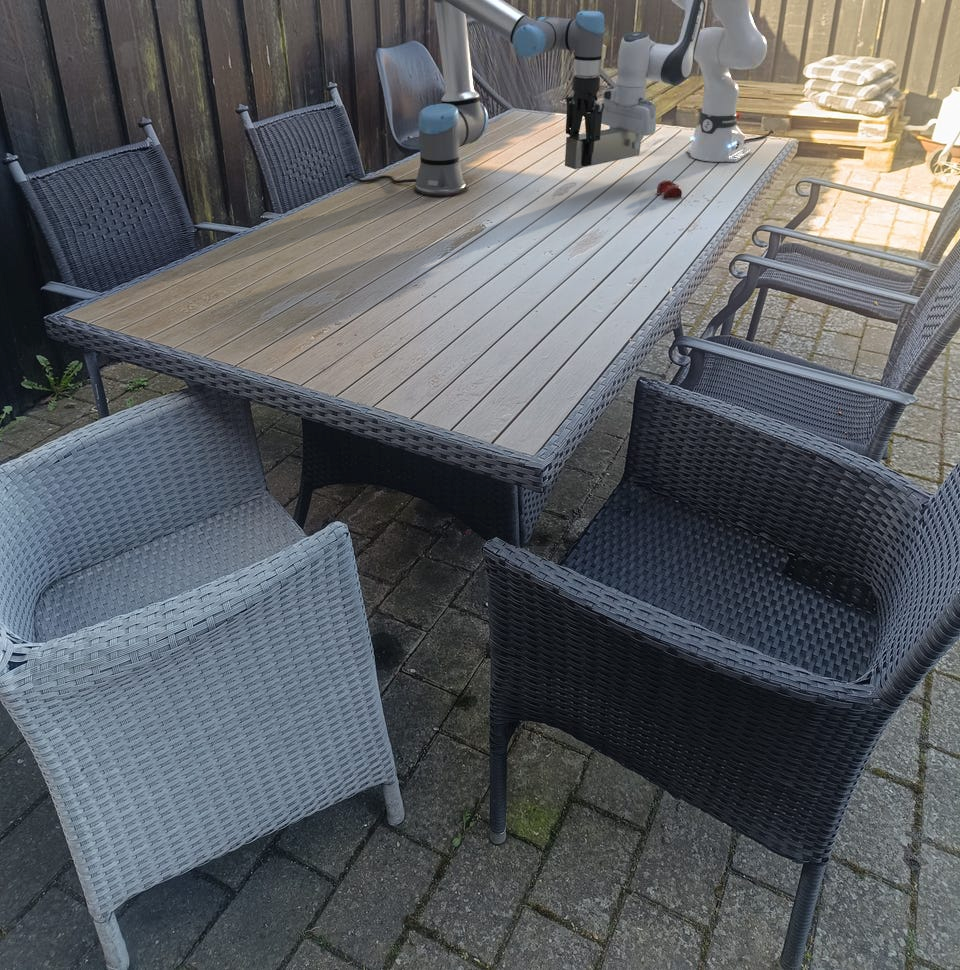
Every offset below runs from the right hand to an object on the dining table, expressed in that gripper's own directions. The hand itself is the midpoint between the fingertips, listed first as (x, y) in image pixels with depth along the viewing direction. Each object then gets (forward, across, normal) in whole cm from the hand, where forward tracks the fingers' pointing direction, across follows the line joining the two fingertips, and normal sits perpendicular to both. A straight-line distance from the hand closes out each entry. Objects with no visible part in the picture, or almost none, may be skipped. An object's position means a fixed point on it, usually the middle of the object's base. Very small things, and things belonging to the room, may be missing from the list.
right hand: (625, 145), depth 252 cm
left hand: (+2, 0, +18) cm, 18 cm away
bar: (+3, 0, +9) cm, 9 cm away
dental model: (+13, -14, -6) cm, 20 cm away
